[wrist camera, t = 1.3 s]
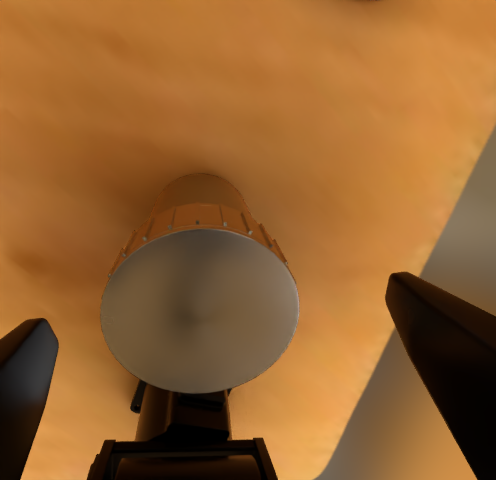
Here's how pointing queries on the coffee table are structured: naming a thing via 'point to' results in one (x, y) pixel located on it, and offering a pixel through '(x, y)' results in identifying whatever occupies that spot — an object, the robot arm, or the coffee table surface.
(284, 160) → the coffee table surface
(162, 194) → the jar
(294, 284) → the lid
